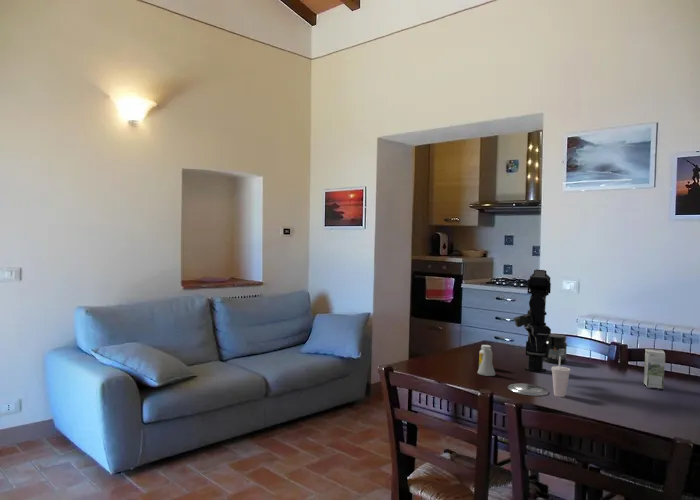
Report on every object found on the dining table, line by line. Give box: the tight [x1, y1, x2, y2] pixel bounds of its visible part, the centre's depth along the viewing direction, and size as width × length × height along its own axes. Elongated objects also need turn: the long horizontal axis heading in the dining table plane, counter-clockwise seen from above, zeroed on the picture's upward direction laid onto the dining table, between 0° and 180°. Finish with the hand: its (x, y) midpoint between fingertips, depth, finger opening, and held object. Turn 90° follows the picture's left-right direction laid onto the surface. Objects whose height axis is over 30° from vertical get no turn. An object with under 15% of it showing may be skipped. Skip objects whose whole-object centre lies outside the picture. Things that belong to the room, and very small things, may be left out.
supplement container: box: [543, 333, 568, 365], centre depth 236 cm, size 10×10×12 cm
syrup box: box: [643, 348, 666, 389], centre depth 198 cm, size 6×6×14 cm
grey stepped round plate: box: [507, 383, 549, 397], centre depth 188 cm, size 14×14×1 cm
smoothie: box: [550, 356, 571, 398], centre depth 182 cm, size 6×6×14 cm
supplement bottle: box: [478, 344, 493, 368], centre depth 218 cm, size 5×5×10 cm
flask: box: [476, 349, 496, 377], centre depth 208 cm, size 7×7×10 cm
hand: (535, 348), depth 199 cm, fingers open, 9 cm apart
